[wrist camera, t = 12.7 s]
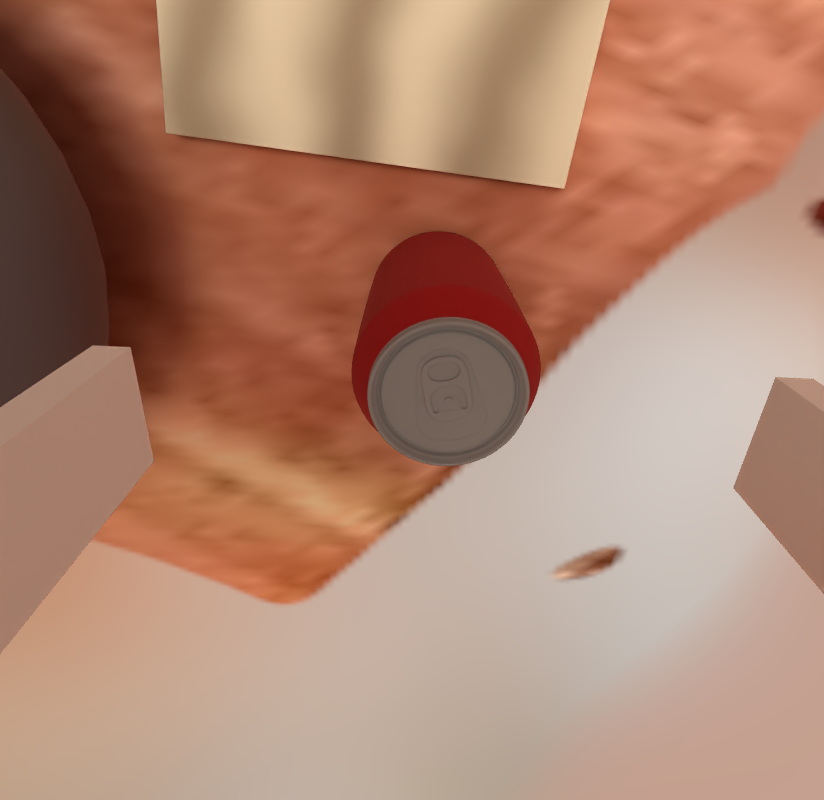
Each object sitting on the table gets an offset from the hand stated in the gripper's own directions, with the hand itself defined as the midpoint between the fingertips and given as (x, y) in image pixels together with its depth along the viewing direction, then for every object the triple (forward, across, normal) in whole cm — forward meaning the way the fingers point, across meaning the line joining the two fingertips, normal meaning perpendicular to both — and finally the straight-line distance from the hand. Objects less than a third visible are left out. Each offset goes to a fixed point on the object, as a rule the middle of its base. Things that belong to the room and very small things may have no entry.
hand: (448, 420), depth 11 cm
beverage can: (+18, 0, -2) cm, 18 cm away
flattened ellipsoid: (+18, -26, 0) cm, 31 cm away
